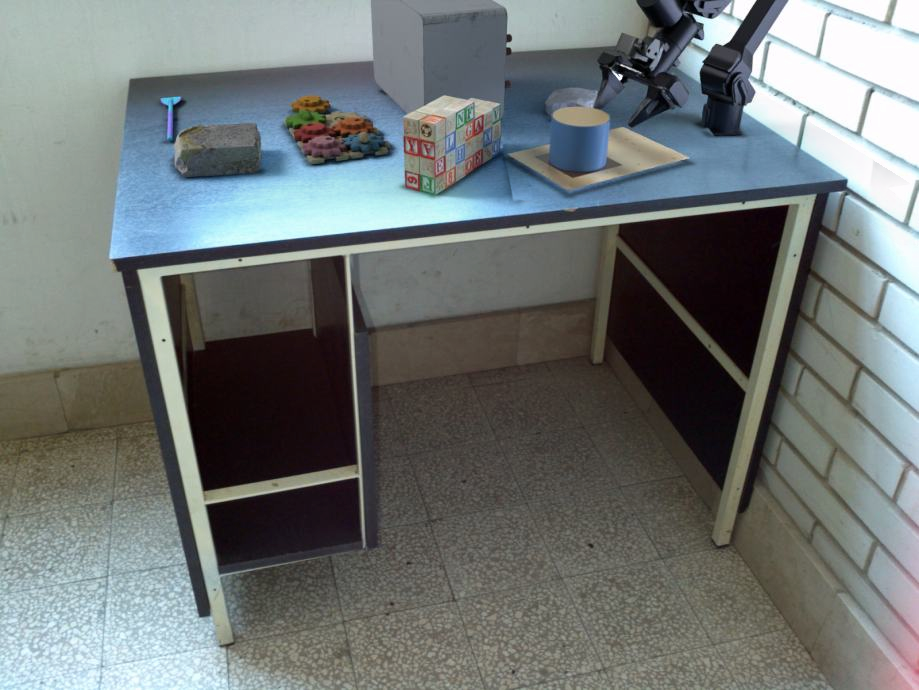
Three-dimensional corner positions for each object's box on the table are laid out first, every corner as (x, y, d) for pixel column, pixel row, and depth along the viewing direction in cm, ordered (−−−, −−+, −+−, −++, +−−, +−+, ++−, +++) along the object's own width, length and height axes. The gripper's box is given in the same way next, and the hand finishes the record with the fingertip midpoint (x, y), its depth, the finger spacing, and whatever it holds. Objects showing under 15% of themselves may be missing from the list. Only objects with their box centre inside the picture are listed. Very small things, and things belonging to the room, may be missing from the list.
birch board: (622, 131, 170) (623, 126, 170) (689, 163, 157) (689, 157, 157) (506, 159, 158) (506, 153, 158) (568, 195, 146) (568, 189, 145)
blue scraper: (162, 98, 183) (161, 93, 182) (182, 97, 184) (181, 92, 183) (151, 143, 163) (149, 136, 162) (174, 141, 163) (172, 135, 163)
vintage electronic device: (512, 126, 172) (518, -9, 158) (424, 138, 166) (422, -2, 152) (453, 78, 196) (454, -43, 182) (374, 87, 191) (369, -37, 177)
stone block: (544, 129, 175) (595, 123, 173) (541, 105, 173) (592, 98, 170) (551, 111, 185) (599, 105, 183) (548, 88, 183) (597, 82, 180)
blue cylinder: (601, 150, 159) (605, 106, 155) (610, 172, 151) (615, 126, 147) (545, 150, 159) (548, 106, 155) (551, 172, 151) (555, 126, 146)
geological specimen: (262, 144, 150) (169, 147, 146) (264, 177, 153) (174, 181, 149) (258, 120, 158) (170, 122, 154) (260, 153, 161) (174, 155, 158)
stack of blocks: (471, 146, 163) (472, 80, 156) (500, 154, 160) (503, 86, 153) (404, 187, 148) (402, 115, 141) (435, 195, 145) (435, 122, 138)
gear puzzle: (272, 109, 178) (270, 89, 176) (349, 100, 183) (348, 81, 181) (308, 166, 154) (306, 144, 152) (396, 154, 159) (395, 133, 157)
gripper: (610, 3, 154) (555, 76, 156) (686, 27, 141) (625, 107, 142) (639, 42, 162) (587, 112, 163) (714, 69, 149) (656, 144, 150)
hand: (611, 118), depth 155 cm, fingers open, 9 cm apart
